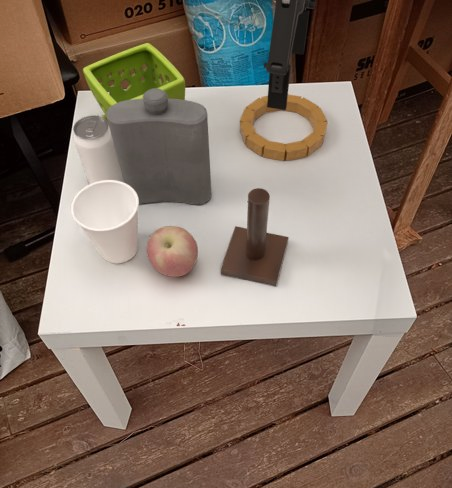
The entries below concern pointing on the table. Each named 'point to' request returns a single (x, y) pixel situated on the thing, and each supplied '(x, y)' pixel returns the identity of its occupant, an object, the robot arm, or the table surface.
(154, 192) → the flask
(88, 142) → the can
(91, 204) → the cup
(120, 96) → the flower pot
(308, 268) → the table surface
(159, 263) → the apple
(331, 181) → the table surface
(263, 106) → the hoop
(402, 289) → the table surface
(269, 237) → the peg stand
